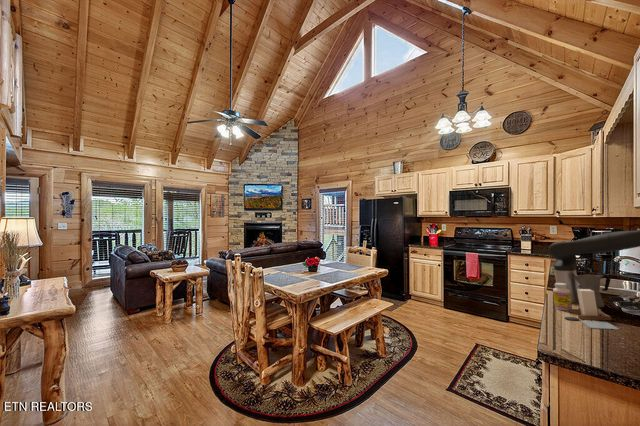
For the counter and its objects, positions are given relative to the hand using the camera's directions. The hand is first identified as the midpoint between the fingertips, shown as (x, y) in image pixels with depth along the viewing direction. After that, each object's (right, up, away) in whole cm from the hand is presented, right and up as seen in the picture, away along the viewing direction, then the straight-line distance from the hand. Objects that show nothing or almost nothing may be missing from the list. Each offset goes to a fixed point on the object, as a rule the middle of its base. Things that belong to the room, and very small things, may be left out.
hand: (614, 301), depth 125 cm
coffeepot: (+10, -8, +18) cm, 22 cm away
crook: (-1, -8, +11) cm, 14 cm away
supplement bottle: (-9, -9, +16) cm, 20 cm away
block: (-8, -8, +3) cm, 12 cm away
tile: (-16, -8, -8) cm, 20 cm away
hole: (-19, -9, +1) cm, 20 cm away
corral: (-8, -8, +3) cm, 12 cm away
